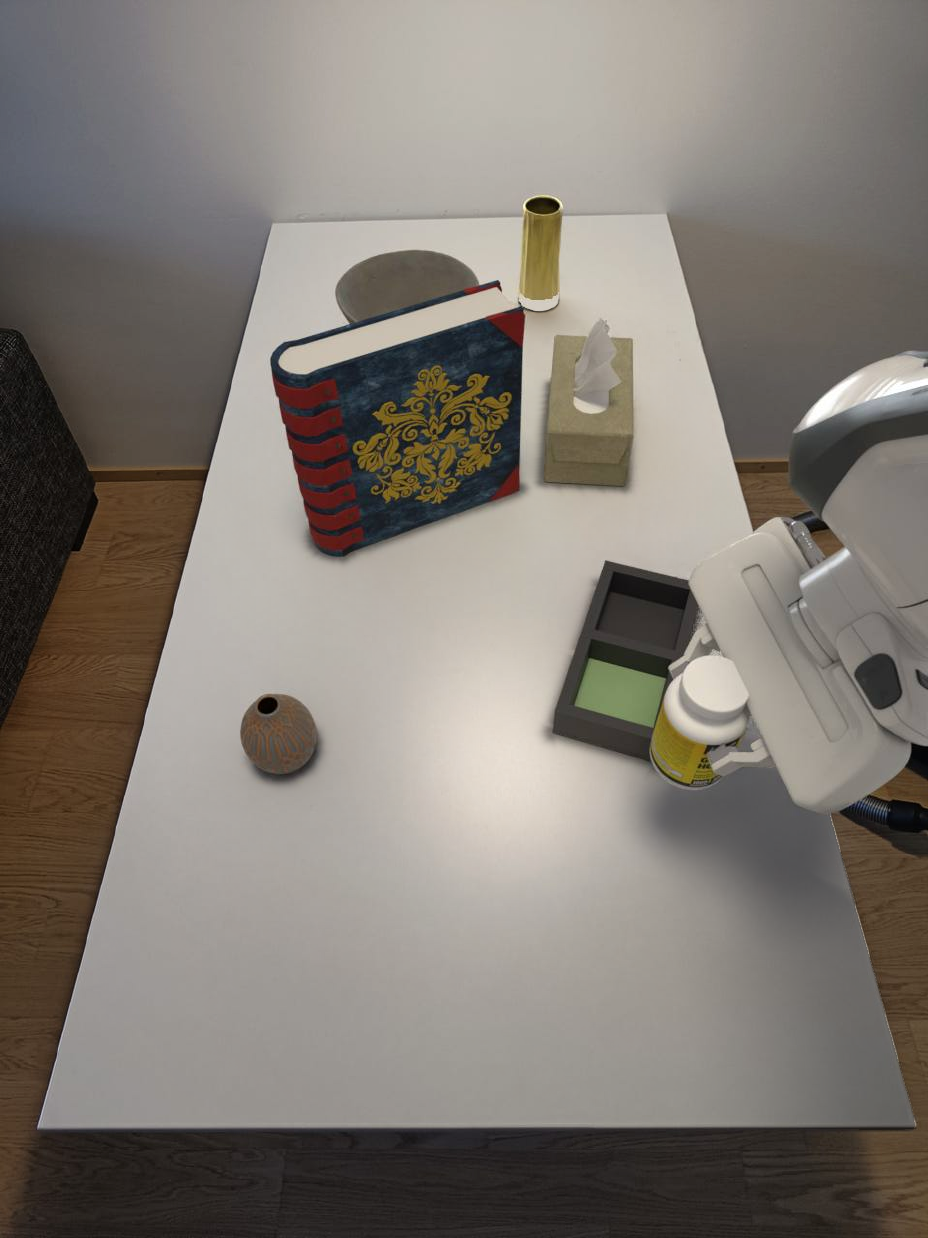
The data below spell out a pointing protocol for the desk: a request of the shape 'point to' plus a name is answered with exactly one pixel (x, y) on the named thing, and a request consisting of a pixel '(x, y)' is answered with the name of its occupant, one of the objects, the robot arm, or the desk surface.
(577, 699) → the holder
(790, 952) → the desk surface
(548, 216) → the vase
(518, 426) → the book
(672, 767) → the pill bottle
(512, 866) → the desk surface
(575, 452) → the tissue box
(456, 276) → the bowl
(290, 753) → the vase
